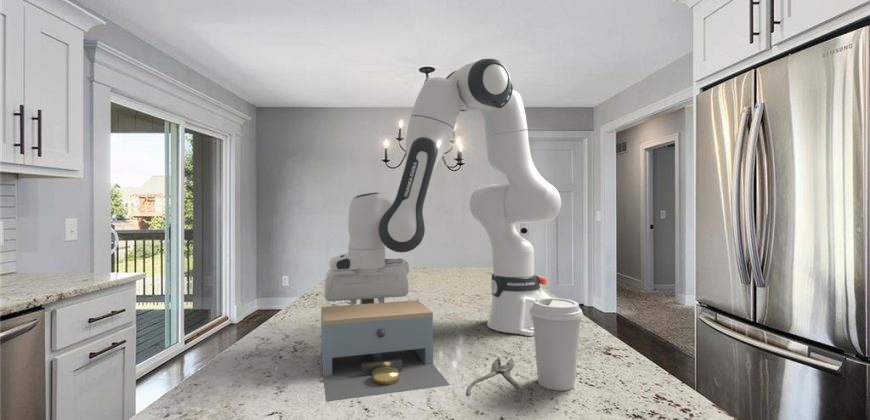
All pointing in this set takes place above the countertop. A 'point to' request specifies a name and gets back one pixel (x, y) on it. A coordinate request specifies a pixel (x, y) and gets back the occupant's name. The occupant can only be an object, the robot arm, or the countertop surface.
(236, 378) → the countertop surface
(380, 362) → the sweep tool
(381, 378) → the token
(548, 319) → the coffee cup
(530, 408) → the countertop surface
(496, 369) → the pliers
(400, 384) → the mat
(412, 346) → the cabinet
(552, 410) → the countertop surface
